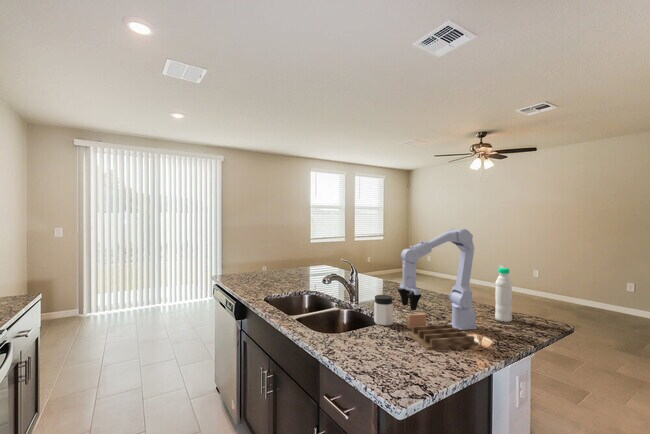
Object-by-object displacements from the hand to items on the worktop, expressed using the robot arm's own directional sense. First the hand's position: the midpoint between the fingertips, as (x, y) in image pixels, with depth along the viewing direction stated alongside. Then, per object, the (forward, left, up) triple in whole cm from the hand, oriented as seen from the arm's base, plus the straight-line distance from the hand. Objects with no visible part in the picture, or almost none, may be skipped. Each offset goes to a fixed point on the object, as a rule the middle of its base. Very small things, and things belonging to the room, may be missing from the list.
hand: (409, 307), depth 137 cm
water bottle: (-52, -4, -10) cm, 53 cm away
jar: (+7, -11, -10) cm, 16 cm away
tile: (-5, -2, -10) cm, 11 cm away
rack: (-8, +13, -10) cm, 18 cm away
